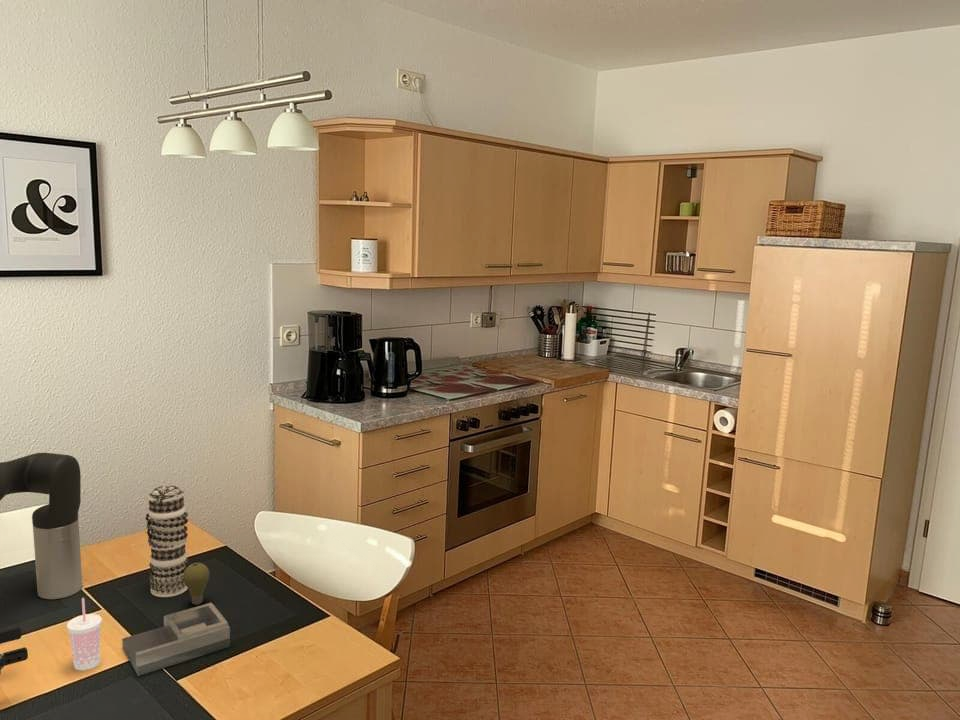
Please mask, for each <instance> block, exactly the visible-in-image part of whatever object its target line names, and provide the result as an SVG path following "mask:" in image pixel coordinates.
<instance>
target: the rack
mask: <svg viewBox="0 0 960 720" xmlns="http://www.w3.org/2000/svg"><path fill="white" fill-rule="evenodd" d="M121 641H122V643H121V645H122V649H123V650H124V653H125V654H126V657H127V656H128V657H127V658H128V661H129V662H130V664H131V666H132V668H133V669H134V671H135V673H136V675H137V677H140V676H143V675H146V674H150V673H153V672H156V671H158V670H163V669H165V668H168V667H171V666H174V665H177V664H181V663H184V662H186V661H187V662H188V661H190V660H193V659H195V658H199V657H202V656H205V655H208V654H212V653H215V652H218V651H221V650H225V649H227V648H231V628H230V626H229V622H228V621H227V620H226V619H225V617H224V615H222V614H221V612H220V611H219V610H218V609H217V607H216V606H215V605H214V604H213V603H212V602H209V603H205V604H202V605H196V606H195V607H194V606H193V607H191V608H190V607H189V608H188V609H183V610H181V611H175V612H173V613H169V614H166V615H163V626H161V627H158V628H154V629H150V630H147V631H143V632H140V633H137V634H133V635H131V636H126V637H123V638H122V639H121Z"/></svg>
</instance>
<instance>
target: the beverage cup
mask: <svg viewBox="0 0 960 720" xmlns="http://www.w3.org/2000/svg"><path fill="white" fill-rule="evenodd" d="M81 609H82V610H81V611H82V615H78V616H75V617H73V618H72V619H70V620H68V622H67V623H66V628H67V632H69V633H68V634H69V639H70V647H71V653H72V660H73V661H72V662H73V668H74V669H75V670H77V671H87V669H88V670H91V669H93V668H95V667H97V666H98V665H99V664H100V662H101V626H102V624H103V620H102V618H103V617H102V616H100V615H99V614H95V613H86V602H85V597H82V598H81Z"/></svg>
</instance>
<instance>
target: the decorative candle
mask: <svg viewBox="0 0 960 720" xmlns="http://www.w3.org/2000/svg"><path fill="white" fill-rule="evenodd" d="M184 497H185V492H184V491H183V490H182V489H181V488H179V487H178V486H176V485H162V486H158V487H156V488H154V489H153V490H152V491H150V493H148V495H147V497H146V498H147V499H148V513H146V515H145V520H146V528H147V531H146V534H147V537H148V538H147V539H148V540H147V543H148V547H149V548H150V552H151V553H150V554H151V555H150V557H149V558H150V562H149V565H148V566H149V568H150V570H149V573H150V576H149V581H150V582H149V586H150V594H152V595H153V596H155V597H159V598H170V597H175V596H178V595H181V594H183V593H184V592H187V590H189V589H188V587H187V586H186V584H185V582H184V579H183V575H184V572H185V570H186V568H187V567H188V566H189V565H188V562H189V558H188V557H187V550H186V544H187V542H188V539H187V537H188V535H189V534H188V533H187V532H188V526H186V524H187V523H188V522H189V519H188V518H187V517H188V514H189V513H188V512H187V511H186V509H185V508H186V507H185V504H184V503H185V502H184V499H185V498H184Z"/></svg>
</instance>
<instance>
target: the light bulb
mask: <svg viewBox="0 0 960 720" xmlns="http://www.w3.org/2000/svg"><path fill="white" fill-rule="evenodd" d="M183 579H184V582H185V584H186V586H187V587H188V589H187V590H188V591H189V595H190V596H191V604H193V605H195V606H200V604H201V603H203V601H204V598H203V597H204V595H203V594H204V592H205V588H206V586H207V584H208V582H209V580H210V569H209V568H208V566H206V565H205V564H204V563H202V562H194V563H191V564H189V565H188V567H187V568H186V570H185V572H184V575H183Z"/></svg>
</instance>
